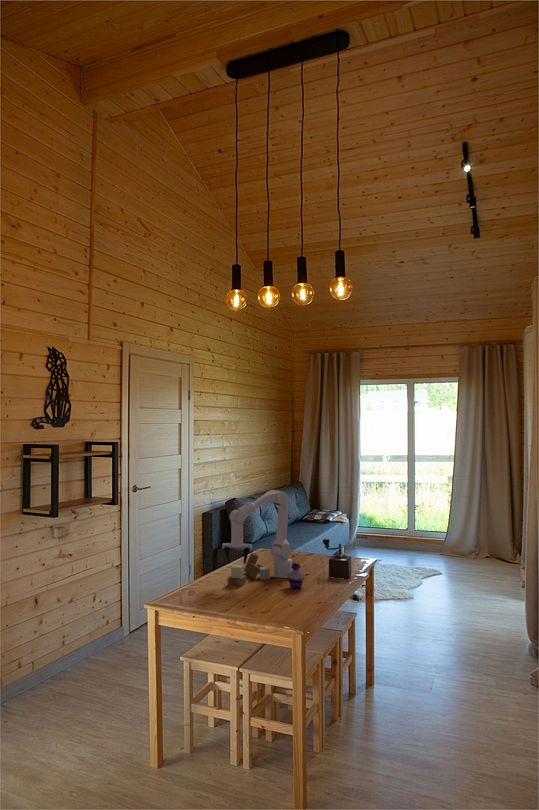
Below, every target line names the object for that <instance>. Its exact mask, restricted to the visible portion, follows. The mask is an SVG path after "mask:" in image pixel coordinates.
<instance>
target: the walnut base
mask: <svg viewBox="0 0 539 810" xmlns="http://www.w3.org/2000/svg"><path fill="white" fill-rule="evenodd" d="M245 583H246V584H247V574H246V575H245V574H243V576H242V578H231V575H230V576H228V577H227V587H234V586H237V587H238V588H242V587H244V586H245V585H246V584H245ZM244 584H245V585H244ZM237 587H236V588H237Z"/></svg>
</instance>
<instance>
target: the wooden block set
mask: <svg viewBox="0 0 539 810" xmlns="http://www.w3.org/2000/svg"><path fill="white" fill-rule="evenodd" d="M259 558H260V557H259V555H258V554H257V553H255V552H251V553H250V555H249V557H248V558H247V559H248V560H247V561H246V564H245V566H244V567H243V573H245V574H246V576H248V577H249V578H251V579H252V580H256V579H257V576H258V573H260V572H259V571H260V567H264V566H263V565H260V564H258V563H257V561H258V559H259Z"/></svg>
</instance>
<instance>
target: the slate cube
mask: <svg viewBox="0 0 539 810" xmlns="http://www.w3.org/2000/svg"><path fill="white" fill-rule="evenodd" d="M270 570H271V569H270V566H263V567H260V572H259V580H270V576H271V571H270Z"/></svg>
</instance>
